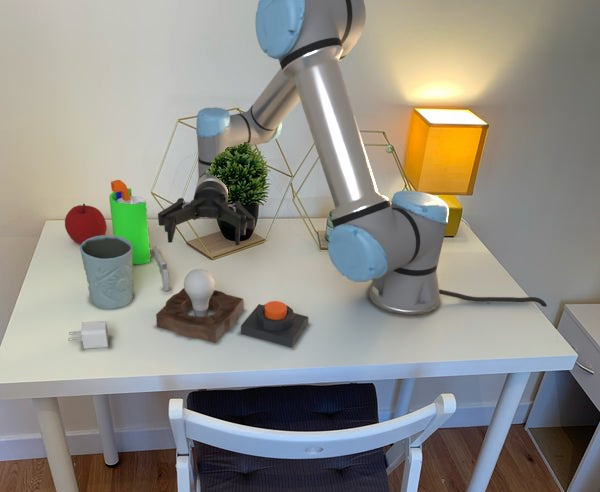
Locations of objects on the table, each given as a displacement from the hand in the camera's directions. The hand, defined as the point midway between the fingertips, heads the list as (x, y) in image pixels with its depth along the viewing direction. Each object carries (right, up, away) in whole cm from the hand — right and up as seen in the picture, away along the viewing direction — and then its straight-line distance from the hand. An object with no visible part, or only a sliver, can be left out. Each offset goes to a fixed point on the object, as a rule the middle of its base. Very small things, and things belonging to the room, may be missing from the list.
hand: (203, 237), depth 133 cm
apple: (-31, +5, +23) cm, 39 cm away
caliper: (-18, -9, +10) cm, 23 cm away
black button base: (+15, -19, 0) cm, 24 cm away
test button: (+15, -16, -3) cm, 22 cm away
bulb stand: (-1, -16, +1) cm, 16 cm away
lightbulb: (-1, -16, +1) cm, 16 cm away
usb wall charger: (-21, -22, -8) cm, 31 cm away
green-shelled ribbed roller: (-19, +1, +20) cm, 27 cm away
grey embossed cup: (-20, -12, +5) cm, 23 cm away
